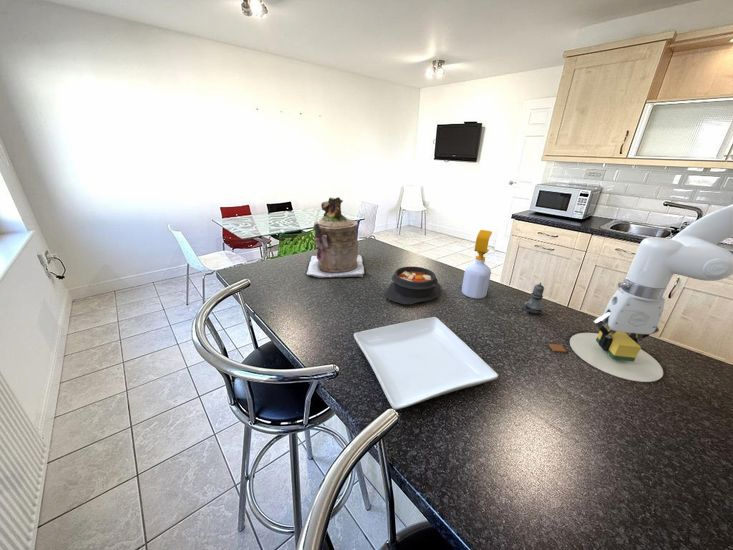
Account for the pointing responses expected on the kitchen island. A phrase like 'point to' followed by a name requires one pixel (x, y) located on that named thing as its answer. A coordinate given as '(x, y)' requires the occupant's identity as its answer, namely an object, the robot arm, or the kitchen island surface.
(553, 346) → the block
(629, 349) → the sponge
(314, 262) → the cookie jar
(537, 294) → the grey chess piece
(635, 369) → the plate
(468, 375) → the square plate
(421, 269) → the casserole
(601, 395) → the kitchen island surface
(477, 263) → the soap bottle
